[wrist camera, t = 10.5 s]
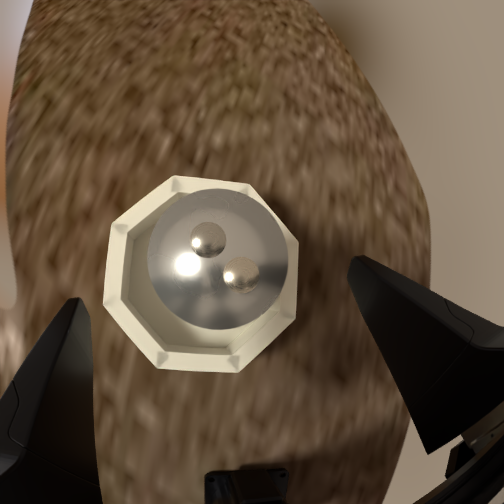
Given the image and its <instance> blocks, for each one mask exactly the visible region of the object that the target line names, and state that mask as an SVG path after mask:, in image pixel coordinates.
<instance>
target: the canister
mask: <svg viewBox="0 0 504 504" xmlns="http://www.w3.org/2000/svg"><path fill="white" fill-rule="evenodd" d="M147 263H148V271H149V276H150V279H151V282H152V285H153V287H154V289H155V291H156V293H157V295H158V296H159V298H160V299H161V301H162V302H163V303H164V304H165V306H166V307H167V308H168V309H169V310H170V311H171V312H173V313H174V314H175V315H176V316H178V317H179V318H181V319H182V320H184V321H186V322H188V323H190V324H192V325H195V326H198V327H201V328H206V329H211V330H225V329H232V328H237V327H240V326H243V325H246V324H248V323H250V322H252V321H254V320H255V319H257V318H258V317H260V316H261V315H263V314H264V313H265V312H266V311H267V310H268V309H269V308H270V307H271V306H272V305H273V303H274V302H275V301H276V299H277V298H278V296H279V294H280V293H281V291H282V288H283V286H284V283H285V280H286V276H287V271H288V249H287V245H286V240H285V237H284V235H283V232H282V230H281V228H280V226H279V224H278V222H277V221H276V220H275V218H274V217H273V215H272V214H271V213H270V212H269V211H268V210H267V209H266V208H265V207H264V206H263V205H262V204H261V203H259V202H258V201H256V200H255V199H253V198H251V197H249V196H247V195H245V194H243V193H240V192H237V191H233V190H229V189H220V188H216V189H205V190H200V191H196V192H193V193H191V194H188V195H186V196H184V197H182V198H181V199H179V200H177V201H176V202H175V203H174V204H172V205H171V206H170V207H169V208H168V209H167V210H166V211H165V212H164V213H163V214H162V216H161V217H160V219H159V220H158V221H157V223H156V225H155V227H154V229H153V231H152V234H151V237H150V241H149V245H148V253H147Z"/></svg>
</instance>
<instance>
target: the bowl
mask: <svg viewBox="0 0 504 504" xmlns="http://www.w3.org/2000/svg"><path fill="white" fill-rule="evenodd" d="M216 188H220V189H229V190H233V191H237V192H240V193H243V194H245V195H247V196H249V197H251V198H253V199H255V200H256V201H258V202H259V203H261V204H262V205H263V206H264V207H265V208H266V209H267V210H268V211H269V212H270V213H271V214H272V215H273V217H274V218H275V220H276V221H277V222H278V224H279V226H280V228H281V230H282V232H283V235H284V237H285V240H286V245H287V249H288V271H287V276H286V280H285V283H284V286H283V288H282V291H281V293H280V294H279V296H278V298H277V299H276V301H275V302H274V303H273V305H272V306H271V307H270V308H269V309H268V310H267V311H266V312H265V313H264V314H263V315H261V316H260V317H258V318H257V319H255V320H254V321H252V322H250V323H248V324H246V325H243V326H240V327H237V328H232V329H225V330H211V329H206V328H201V327H198V326H195V325H192V324H190V323H188V322H186V321H184V320H182V319H181V318H179V317H178V316H176V315H175V314H174V313H173V312H171V311H170V310H169V309H168V308H167V307H166V306H165V304H164V303H163V302H162V301H161V299H160V298H159V296H158V295H157V293H156V291H155V289H154V287H153V285H152V282H151V279H150V276H149V271H148V263H147V253H148V245H149V241H150V237H151V234H152V231H153V229H154V227H155V225H156V223H157V221H158V220H159V219H160V217H161V216H162V214H163V213H164V212H165V211H166V210H167V209H168V208H169V207H170V206H171V205H172V204H174V203H175V202H176V201H177V200H179V199H181V198H182V197H184V196H186V195H188V194H191V193H193V192H196V191H200V190H205V189H216ZM298 247H299V242H298V241H297V240H296V238H295V237H294V236H293V235H292V234H291V232H290V231H289V230H288V229H287V228H286V226H285V225H284V224H283V223H282V222H281V220H280V219H279V218H278V217H277V216H276V215H275V213H274V212H273V211H272V210H271V209H270V208H269V206H268V205H267V204H266V203H265V202H264V201H263V199H262V198H261V197H260V196H259V195H258V194H257V192H256V191H255V190H254V189H253V188H252V187H251V186H250V184H243V183H236V182H228V181H220V180H212V179H203V178H194V177H184V176H174V175H173V176H172V177H171V178H169V179H168V180H167V181H165V182H164V183H163V184H161V185H160V186H159V187H157V188H156V189H155V190H153V191H152V192H151V193H149V194H148V195H147V196H146V197H144V198H143V199H142V200H140V201H139V202H138V203H137V204H135V205H134V206H133V207H132V208H130V209H129V210H128V211H127V212H125V213H124V214H123V215H122V216H120V217H119V218H118V219H117V220H116V221H114V222H113V223H112V226H111V232H110V240H109V247H108V256H107V264H106V274H105V286H104V299H103V305H104V307H105V308H106V309H107V310H108V312H109V313H110V314H111V315H112V317H113V318H114V319H115V320H116V322H117V323H118V324H119V325H120V327H121V328H122V329H123V330H124V331H125V333H126V334H127V335H128V336H129V337H130V339H131V340H132V341H133V342H134V343H135V344H136V345H137V347H138V348H139V349H140V350H141V351H142V352H143V353H144V355H145V356H146V357H147V358H148V359H149V360H150V361H151V362H152V363H153V364H154V365H155V367H156V368H161V369H173V370H187V371H206V372H239V371H241V370H242V369H243V368H244V367H245V366H246V365H247V364H248V363H249V362H250V361H252V360H253V359H254V358H255V357H256V356H257V355H258V354H259V353H260V352H261V351H262V350H263V349H265V348H266V347H267V346H268V345H269V344H270V343H271V342H272V341H273V340H274V339H275V338H276V337H277V336H278V335H279V334H280V333H281V332H282V331H283V330H284V329H286V328H287V327H288V326H289V325H290V324H291V323H292V322H293V321H294V320H295V319H296V300H297V277H298Z"/></svg>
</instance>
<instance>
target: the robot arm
mask: <svg viewBox="0 0 504 504" xmlns="http://www.w3.org/2000/svg"><path fill="white" fill-rule="evenodd" d="M347 280H348V283H349V285H350V288H351V290H352V292H353V295H354V297H355V300H356V302H357V304H358V307H359V309H360V312H361V314H362V316H363V318H364V320H365V322H366V324H367V326H368V328H369V330H370V332H371V334H372V336H373V338H374V340H375V342H376V344H377V345H378V347H379V349H380V351H381V353H382V355H383V357H384V360H385V362H386V364H387V366H388V368H389V370H390V372H391V374H392V376H393V378H394V380H395V382H396V384H397V387H398V389H399V391H400V393H401V395H402V397H403V399H404V402H405V404H406V406H407V408H408V411H409V413H410V415H411V418H412V420H413V422H414V424H415V426H416V429H417V431H418V434H419V436H420V439H421V441H422V443H423V446H424V448H425V451H426V453H427V454H428V455H429V454H430V453H432V452H434V451H435V450H437V449H439V448H440V447H442V446H443V445H445V444H447V443H448V442H450V441H451V440H453V439H454V438H456V437H457V436H459V435H460V434H461V436H462V437H463V440H462V441H461V442H460V443H459V444H457V445H456V446H455V447H454V448H452V449H451V451H450V456H449V460H448V465H447V469H446V473H445V477H446V479H447V480H445V481H444V482H443V483H442V484H440V485H439V486H437V487H436V488H435V489H433V490H432V491H431V492H429V493H428V494H426V495H425V496H424V497H422V498H421V499H419V500H418V501H416V502H415V503H413V504H504V327H501V326H498V325H496V324H494V323H492V322H490V321H488V320H486V319H484V318H482V317H480V316H478V315H476V314H474V313H472V312H470V311H468V310H466V309H464V308H462V307H460V306H458V305H456V304H454V303H453V302H451V301H449V300H447V299H445V298H443V297H442V296H440V295H438V294H437V293H435V292H433V291H431V290H429V289H428V288H426V287H424V286H422V285H420V284H418V283H416V282H415V281H413V280H411V279H409V278H407V277H405V276H403V275H401V274H400V273H398V272H396V271H394V270H392V269H390V268H388V267H386V266H384V265H382V264H380V263H379V262H377V261H375V260H373V259H371V258H369V257H367V256H365V255H359V256H354V257H353V258H352V260H351V263H350V266H349V270H348V273H347ZM281 473H284V474H283V475H280V474H281ZM288 477H289V472H288V471H287V470H286V469H285V468H279V469H269V470H265V469H262V470H250V471H234V472H216V473H207V474H206V475H205V476H204V501H205V504H288V503H287V501H286V500H285V498H286V491H287V484H288ZM209 478H214V479H212V480H209ZM0 504H103V502H102V496H101V490H100V484H99V476H98V468H97V459H96V449H95V435H94V416H93V356H92V340H91V320H90V316H89V314H88V311H87V309H86V307H85V305H84V303H83V301H82V299H81V298H79V297H77V298H70V299H68V300H67V301H66V302H65V304H64V305H63V306H62V308H61V309H60V310H59V312H58V313H57V314H56V316H55V317H54V318H53V320H52V321H51V322H50V324H49V325H48V327H47V328H46V329H45V331H44V332H43V334H42V335H41V336H40V338H39V339H38V341H37V342H36V344H35V345H34V347H33V348H32V350H31V351H30V353H29V354H28V356H27V357H26V359H25V360H24V362H23V363H22V365H21V366H20V368H19V370H18V371H17V373H16V374H15V376H14V378H13V380H12V381H11V382H10V384H9V386H8V387H7V389H6V391H5V392H4V394H3V395H2V397H1V399H0Z"/></svg>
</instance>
